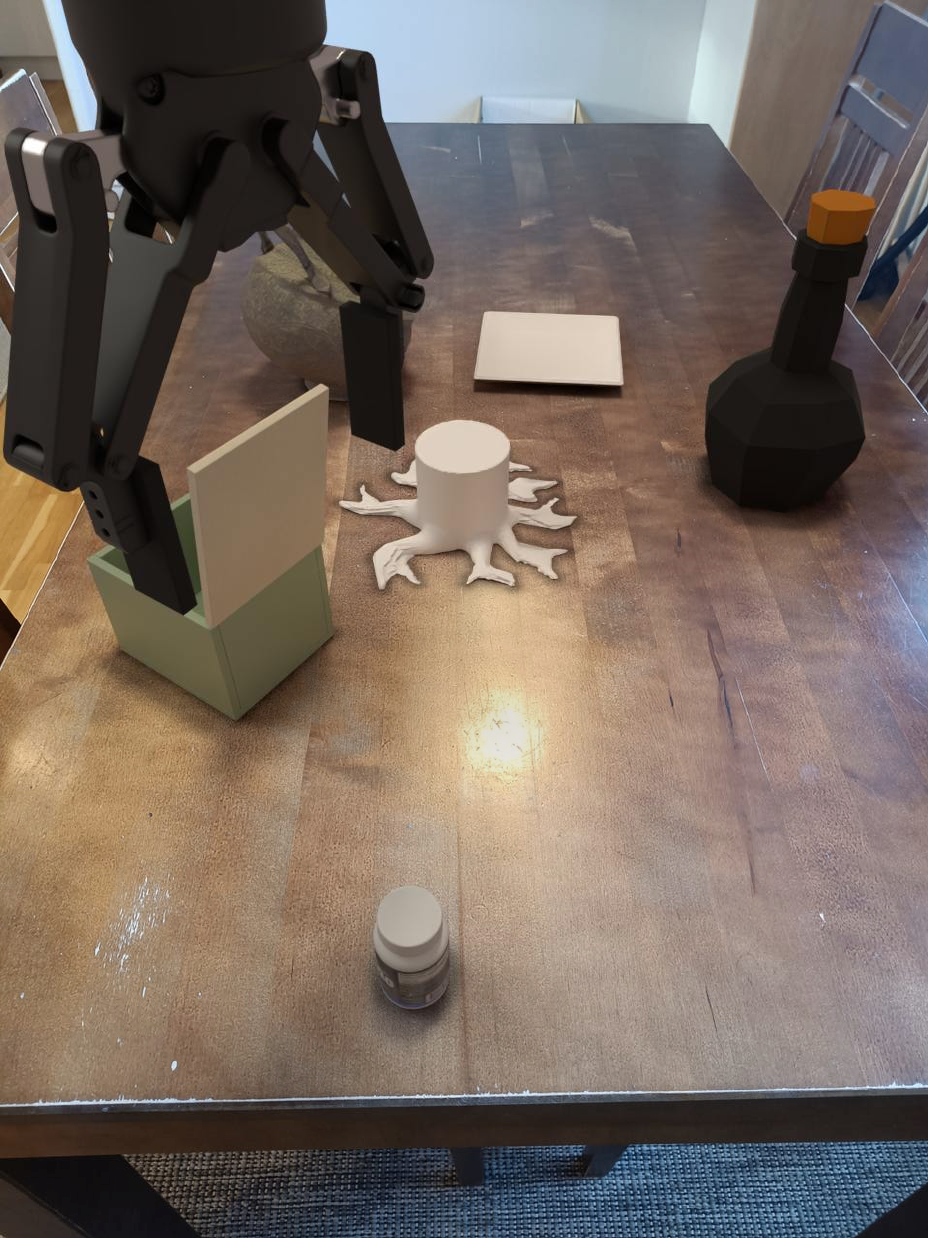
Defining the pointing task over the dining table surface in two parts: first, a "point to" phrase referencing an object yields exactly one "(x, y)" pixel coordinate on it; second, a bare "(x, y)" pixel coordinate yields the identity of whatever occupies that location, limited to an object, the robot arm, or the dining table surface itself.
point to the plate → (549, 349)
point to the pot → (300, 311)
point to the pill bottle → (412, 947)
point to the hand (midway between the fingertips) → (283, 511)
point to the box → (219, 626)
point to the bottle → (795, 376)
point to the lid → (260, 503)
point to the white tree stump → (463, 504)
